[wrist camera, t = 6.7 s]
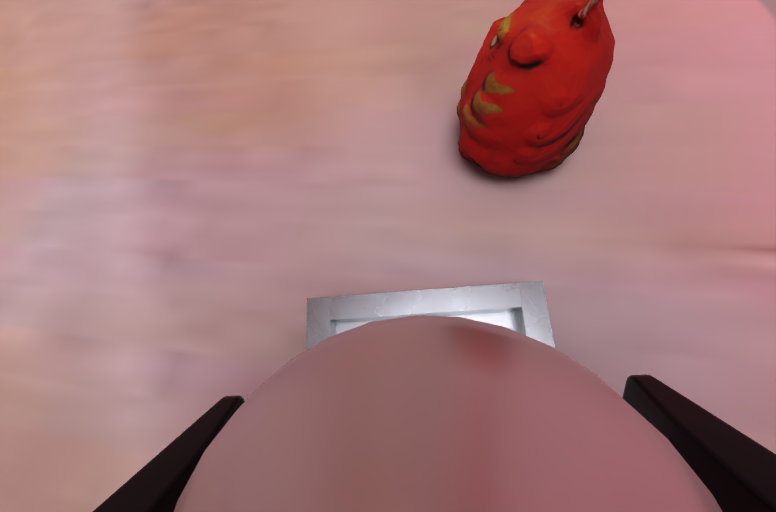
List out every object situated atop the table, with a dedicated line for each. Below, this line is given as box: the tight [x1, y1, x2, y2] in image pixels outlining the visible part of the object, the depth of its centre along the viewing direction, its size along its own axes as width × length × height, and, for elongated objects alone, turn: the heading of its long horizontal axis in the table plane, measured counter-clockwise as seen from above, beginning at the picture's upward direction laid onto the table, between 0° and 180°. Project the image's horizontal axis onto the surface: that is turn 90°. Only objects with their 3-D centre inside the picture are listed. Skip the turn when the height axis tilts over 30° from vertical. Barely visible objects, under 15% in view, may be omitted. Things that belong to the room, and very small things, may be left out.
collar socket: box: [306, 281, 555, 350], centre depth 18 cm, size 12×12×2 cm
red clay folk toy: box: [457, 0, 615, 177], centre depth 16 cm, size 8×7×15 cm
